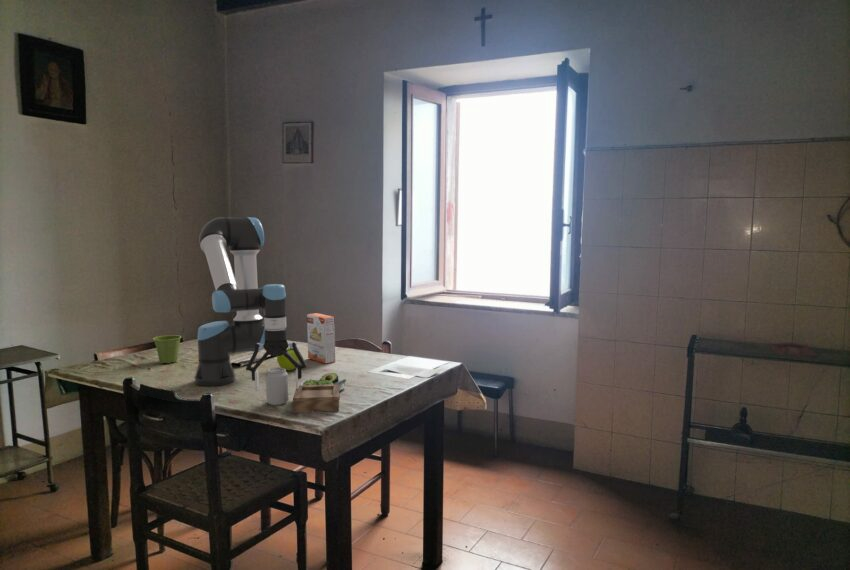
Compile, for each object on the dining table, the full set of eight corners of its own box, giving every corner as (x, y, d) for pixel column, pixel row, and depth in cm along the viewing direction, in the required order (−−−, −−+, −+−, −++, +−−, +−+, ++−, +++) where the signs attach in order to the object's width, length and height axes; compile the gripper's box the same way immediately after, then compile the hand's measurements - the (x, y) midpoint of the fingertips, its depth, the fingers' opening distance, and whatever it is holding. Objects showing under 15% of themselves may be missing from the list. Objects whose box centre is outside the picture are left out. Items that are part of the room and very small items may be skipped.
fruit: (304, 369, 257) (303, 346, 256) (288, 373, 249) (287, 350, 248) (289, 366, 262) (288, 343, 261) (272, 370, 254) (272, 347, 253)
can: (283, 406, 206) (282, 372, 204) (262, 405, 207) (261, 371, 206) (292, 400, 213) (291, 367, 212) (272, 399, 215) (271, 366, 213)
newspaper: (271, 350, 294) (271, 343, 294) (292, 352, 289) (292, 345, 289) (220, 367, 262) (220, 359, 262) (243, 369, 257) (242, 361, 257)
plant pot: (187, 359, 274) (186, 335, 273) (174, 365, 262) (173, 340, 261) (162, 358, 275) (161, 334, 274) (148, 365, 263) (147, 339, 262)
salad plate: (349, 396, 219) (349, 384, 219) (299, 399, 216) (299, 386, 215) (346, 382, 238) (345, 370, 238) (300, 384, 235) (300, 372, 234)
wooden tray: (293, 412, 200) (292, 398, 199) (297, 399, 214) (297, 385, 214) (338, 411, 201) (338, 396, 201) (339, 397, 216) (339, 384, 216)
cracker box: (307, 359, 275) (306, 314, 272) (318, 356, 279) (317, 312, 277) (324, 364, 265) (323, 317, 262) (335, 362, 269) (335, 316, 266)
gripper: (236, 332, 202) (238, 393, 204) (311, 329, 205) (313, 390, 207) (240, 328, 209) (242, 387, 211) (312, 326, 213) (314, 384, 215)
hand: (277, 389), depth 209 cm, fingers open, 13 cm apart
